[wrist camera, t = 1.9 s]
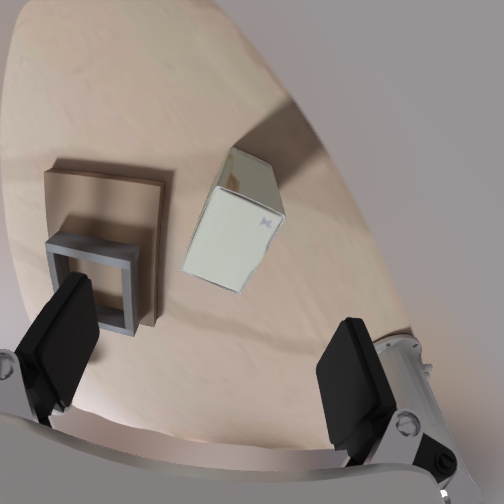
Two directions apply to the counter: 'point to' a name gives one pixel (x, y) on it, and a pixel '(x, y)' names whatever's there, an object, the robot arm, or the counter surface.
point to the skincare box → (235, 223)
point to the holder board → (107, 242)
